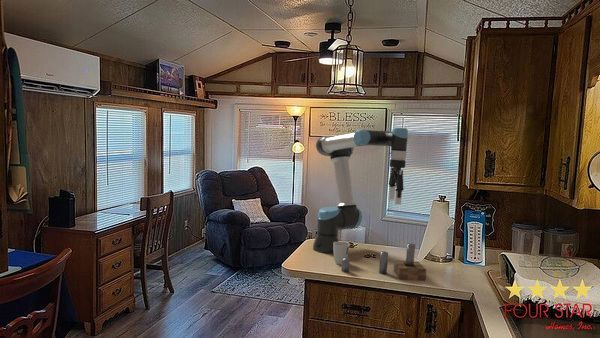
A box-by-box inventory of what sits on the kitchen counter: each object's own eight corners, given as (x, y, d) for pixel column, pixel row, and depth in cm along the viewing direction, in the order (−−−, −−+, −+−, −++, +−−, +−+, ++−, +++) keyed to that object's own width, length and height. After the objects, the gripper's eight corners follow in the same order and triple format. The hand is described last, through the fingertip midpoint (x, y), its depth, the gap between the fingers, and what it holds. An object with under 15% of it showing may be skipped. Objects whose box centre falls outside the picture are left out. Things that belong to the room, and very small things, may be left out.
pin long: (404, 273, 206) (406, 243, 205) (411, 274, 206) (414, 243, 205) (406, 276, 202) (408, 245, 201) (413, 276, 203) (416, 245, 201)
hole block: (393, 270, 210) (394, 260, 210) (417, 271, 210) (418, 261, 210) (399, 279, 198) (400, 268, 198) (425, 280, 198) (426, 269, 198)
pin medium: (378, 271, 208) (379, 251, 207) (385, 271, 208) (387, 251, 207) (379, 273, 204) (381, 253, 203) (387, 274, 204) (388, 253, 203)
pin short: (341, 269, 207) (341, 257, 207) (348, 270, 207) (349, 257, 207) (341, 272, 204) (342, 259, 203) (349, 272, 204) (350, 260, 203)
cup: (347, 266, 213) (348, 246, 212) (331, 264, 214) (332, 244, 213) (349, 261, 221) (350, 242, 220) (333, 260, 222) (334, 240, 221)
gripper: (384, 157, 225) (381, 197, 227) (396, 160, 200) (392, 206, 202) (399, 157, 225) (396, 198, 227) (412, 161, 200) (408, 206, 203)
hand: (394, 201), depth 215 cm, fingers open, 13 cm apart
